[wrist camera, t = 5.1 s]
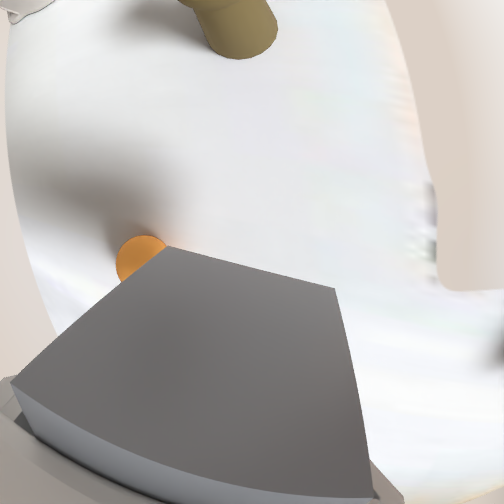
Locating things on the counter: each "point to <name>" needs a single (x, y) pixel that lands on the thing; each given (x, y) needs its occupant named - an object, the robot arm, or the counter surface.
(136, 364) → the block
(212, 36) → the cork
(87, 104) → the counter surface
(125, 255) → the ball
